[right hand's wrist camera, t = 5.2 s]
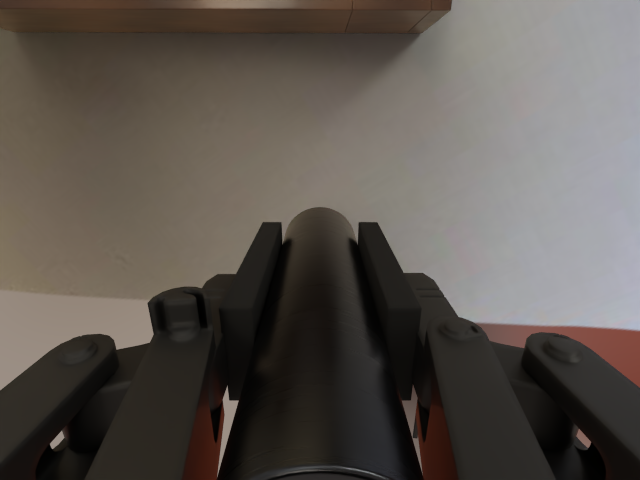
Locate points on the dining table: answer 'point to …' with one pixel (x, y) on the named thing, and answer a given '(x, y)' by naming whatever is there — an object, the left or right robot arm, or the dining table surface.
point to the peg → (320, 371)
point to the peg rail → (222, 16)
